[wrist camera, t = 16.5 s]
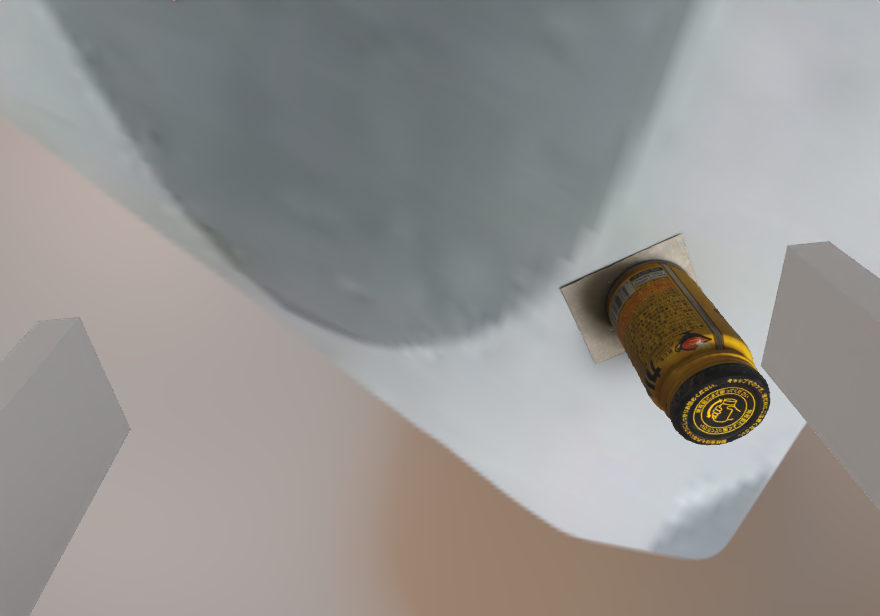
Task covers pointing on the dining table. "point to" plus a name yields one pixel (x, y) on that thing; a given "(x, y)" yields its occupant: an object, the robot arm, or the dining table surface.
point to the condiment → (672, 342)
